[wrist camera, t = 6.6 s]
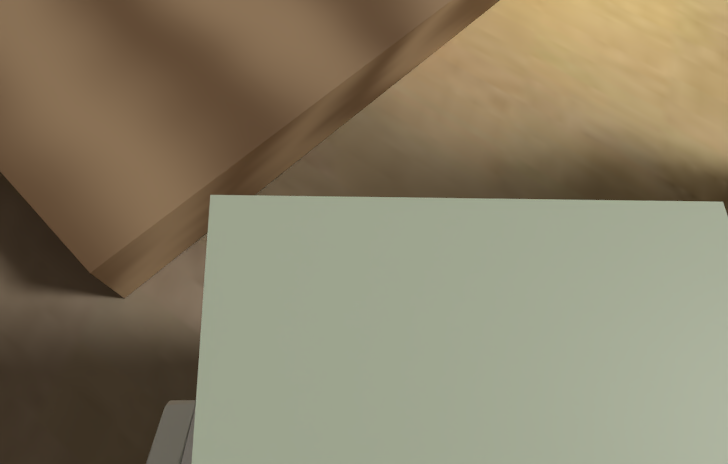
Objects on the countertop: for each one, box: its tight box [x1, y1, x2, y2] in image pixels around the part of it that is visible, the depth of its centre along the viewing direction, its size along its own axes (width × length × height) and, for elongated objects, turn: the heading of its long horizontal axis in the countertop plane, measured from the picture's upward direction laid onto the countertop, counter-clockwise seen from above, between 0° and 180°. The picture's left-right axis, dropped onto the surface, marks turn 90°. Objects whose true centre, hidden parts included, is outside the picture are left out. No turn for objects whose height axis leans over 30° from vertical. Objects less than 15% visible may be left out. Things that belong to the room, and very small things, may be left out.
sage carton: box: [192, 195, 728, 464], centre depth 10 cm, size 5×5×13 cm
